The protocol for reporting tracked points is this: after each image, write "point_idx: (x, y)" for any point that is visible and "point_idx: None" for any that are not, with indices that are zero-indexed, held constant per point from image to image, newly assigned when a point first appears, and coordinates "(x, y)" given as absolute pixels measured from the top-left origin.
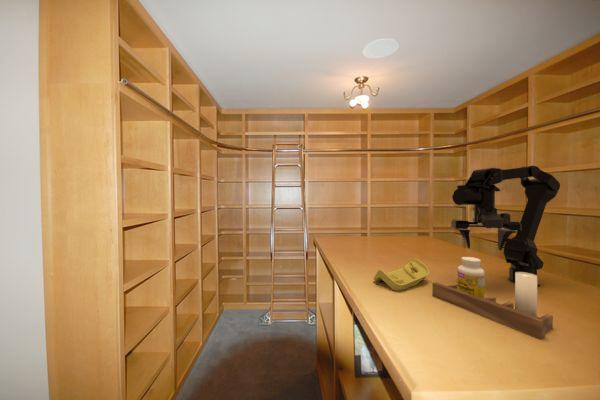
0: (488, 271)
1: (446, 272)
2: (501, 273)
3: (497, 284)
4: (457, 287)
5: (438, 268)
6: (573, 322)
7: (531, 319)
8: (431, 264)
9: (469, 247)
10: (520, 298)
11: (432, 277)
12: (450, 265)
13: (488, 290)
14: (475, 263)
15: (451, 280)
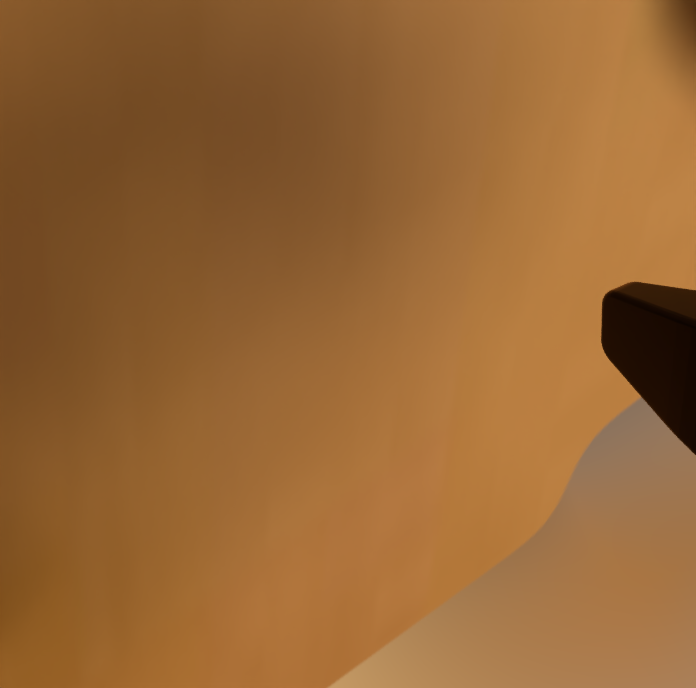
0: (137, 655)
1: (462, 394)
2: (31, 680)
3: (33, 329)
4: None
5: (506, 458)
6: None
7: None
8: (539, 520)
9: (634, 294)
10: None
11: (598, 158)
12: (410, 593)
13: (108, 20)
14: None
15: (452, 170)
